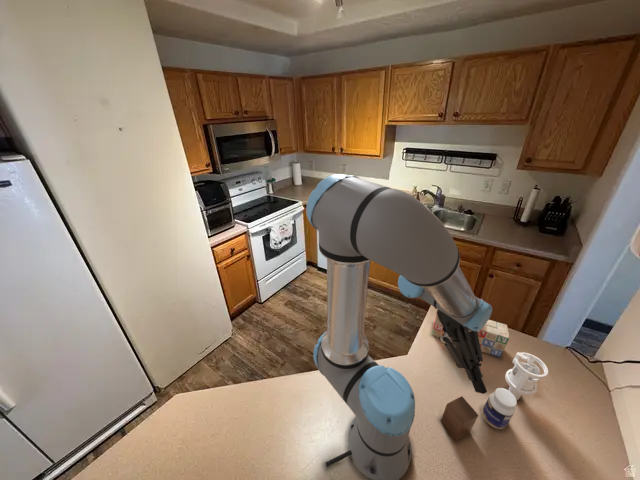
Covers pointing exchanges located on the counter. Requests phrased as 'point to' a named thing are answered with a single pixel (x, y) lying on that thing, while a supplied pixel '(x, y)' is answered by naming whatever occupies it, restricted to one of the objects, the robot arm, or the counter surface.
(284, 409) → the counter surface
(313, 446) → the counter surface
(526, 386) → the strainer
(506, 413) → the pill bottle
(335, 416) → the counter surface
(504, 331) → the stack of blocks
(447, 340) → the robot arm
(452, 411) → the walnut block
